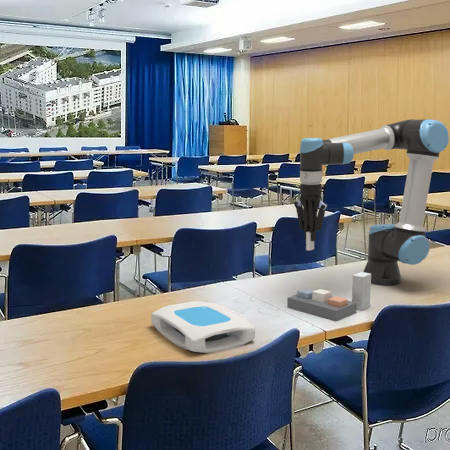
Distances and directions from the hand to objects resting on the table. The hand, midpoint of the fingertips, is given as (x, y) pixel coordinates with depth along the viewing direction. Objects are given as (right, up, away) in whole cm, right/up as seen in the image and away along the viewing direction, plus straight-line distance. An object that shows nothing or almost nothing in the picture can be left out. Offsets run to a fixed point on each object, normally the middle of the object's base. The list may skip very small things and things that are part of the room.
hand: (310, 249), depth 212 cm
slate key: (-2, -18, -2) cm, 18 cm away
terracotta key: (+8, -20, -11) cm, 24 cm away
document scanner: (-37, -25, -30) cm, 54 cm away
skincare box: (+17, -20, -3) cm, 27 cm away
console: (+3, -20, -6) cm, 22 cm away
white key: (+3, -18, -7) cm, 19 cm away
